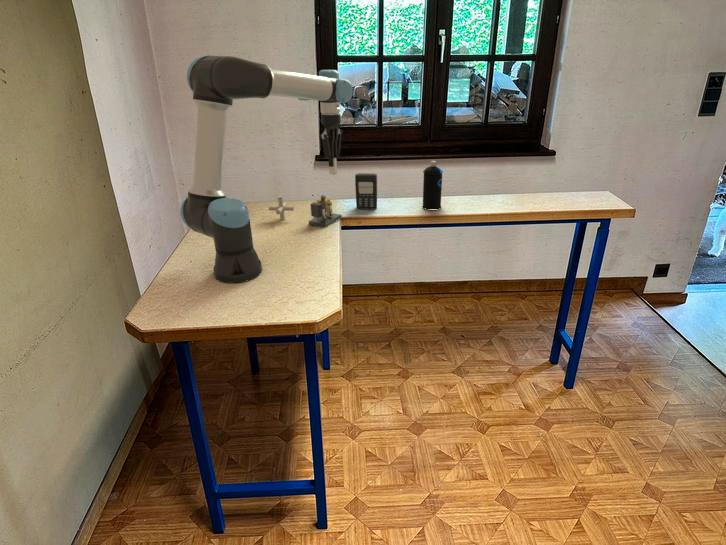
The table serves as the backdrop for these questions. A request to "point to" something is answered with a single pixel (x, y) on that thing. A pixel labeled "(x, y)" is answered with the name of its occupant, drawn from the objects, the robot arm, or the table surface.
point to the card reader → (366, 191)
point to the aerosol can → (432, 187)
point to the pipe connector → (281, 208)
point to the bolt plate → (337, 216)
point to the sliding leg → (326, 205)
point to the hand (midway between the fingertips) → (333, 173)
